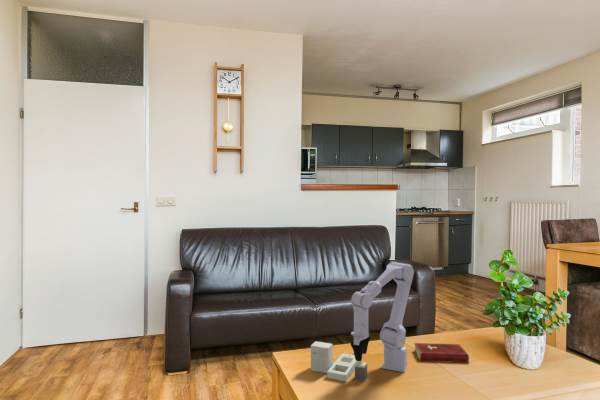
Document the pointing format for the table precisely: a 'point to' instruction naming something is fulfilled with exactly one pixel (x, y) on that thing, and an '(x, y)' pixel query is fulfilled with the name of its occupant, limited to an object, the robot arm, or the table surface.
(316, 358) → the small box
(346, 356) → the power strip
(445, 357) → the hardcover book
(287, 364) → the table surface
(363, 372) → the plug
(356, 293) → the robot arm
